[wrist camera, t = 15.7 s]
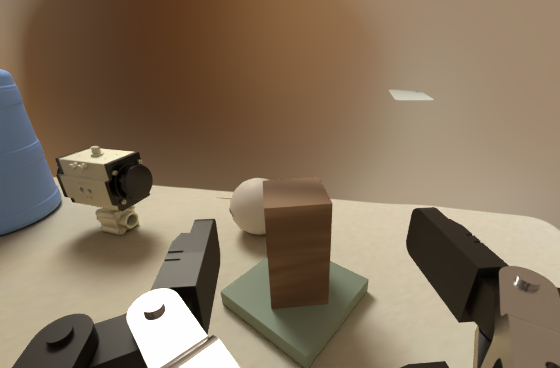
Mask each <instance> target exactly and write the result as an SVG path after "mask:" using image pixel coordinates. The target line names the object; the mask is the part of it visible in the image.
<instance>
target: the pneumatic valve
mask: <svg viewBox="0 0 560 368" xmlns="http://www.w3.org/2000/svg"><path fill="white" fill-rule="evenodd" d="M56 162H57V164H58V170H57V179H58V181H59V184H60V186H61V189H62V191H63V194H64V196H65V197H68V198H71V200H72V202H75V203H80V204H86V205H91V206H96V207H102V208H101V209H98V210H97V211H96V215H97V220H98V221H100V223H101V225H102V226H101V230H102V231H104V232H108V233H113V234H117V235H123V234H124V233H125V231H126V230H128V229H131V228H133V227H135V226H136V225H137V224H139V221H138V215H137V214H136V213H135V212H134V210H133V209H134V208H135V206H134V204H136V203H138V202H139V201H141V200H143V199H144V198H146V197H148V196H149V195H150V193H149V192H150V190H151V187H152V174H151V172H150V170H149V169H148V168H147V167H145V166H143V165H142V160H141V158H140V155H139V152H130V151H119V150H108V149H100V147H99V146H93V147H91V148H87V149H83V150H80V151H77V152H74V153H71V154H68V155H65V156H62V157H59V158H56Z"/></svg>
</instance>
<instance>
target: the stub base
mask: <svg viewBox="0 0 560 368" xmlns="http://www.w3.org/2000/svg"><path fill="white" fill-rule="evenodd" d="M367 288H368V279H367V278H364V277H362V276H360V275H358V274H356V273H354V272H352V271H350V270H348V269H346V268H343V267H341V266H339V265H337V264H335V263H333V262H331V261H330V274H329V299H328V304H322V305H311V306H300V307H290V308H279V309H271V297H270V284H269V271H268V257H266V258H265V259H264V260H262V261H261V262H260V263H258V264H257V265H256V266H254V267H253V268H252V269H250V270H249V271H248V272H246V273H245V274H244V275H242V276H241V277H240V278H238V279H237V280H236V281H234V282H233V283H231V284H230V285H229V286H227V287H226V288H225V289H223V290H222V291H221V297H222V302H223V304H224V305H225V306H227V307H228V308H229V309H230V310H232V311H233V312H234V313H236V314H237V315H238V316H239V317H241V318H242V319H243V320H244V321H246V322H247V323H248V324H249V325H251V326H252V327H253V328H254V329H256V330H257V331H258V332H259V333H261V334H262V335H263V336H264V337H266V338H267V339H268V340H269V341H271V342H272V343H273V344H275V345H276V346H277V347H278V348H280V349H281V350H282V351H283V352H285V353H286V354H287V355H288V356H290V357H291V358H292V359H293V360H295V361H296V362H297V363H298V364H300V365H301V366H302V367H303V368H309V367H310V365H311V364H312V363H313V361H314V360H315V359H316V357H317V356H318V355H319V354H320V352H321V351H322V350H323V348H324V347H325V346H326V344H327V343H328V342H329V340H330V339H331V338H332V336H333V335H334V334H335V333H336V331H337V330H338V329H339V327H340V326H341V325H342V323H343V322H344V321H345V319H346V318H347V317H348V316H349V314H350V313H351V312H352V310H353V309H354V308H355V306H356V305H357V304H358V302H359V301H360V300H361V299H362V297H363V296H364V295H365V293H366V292H367Z"/></svg>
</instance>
